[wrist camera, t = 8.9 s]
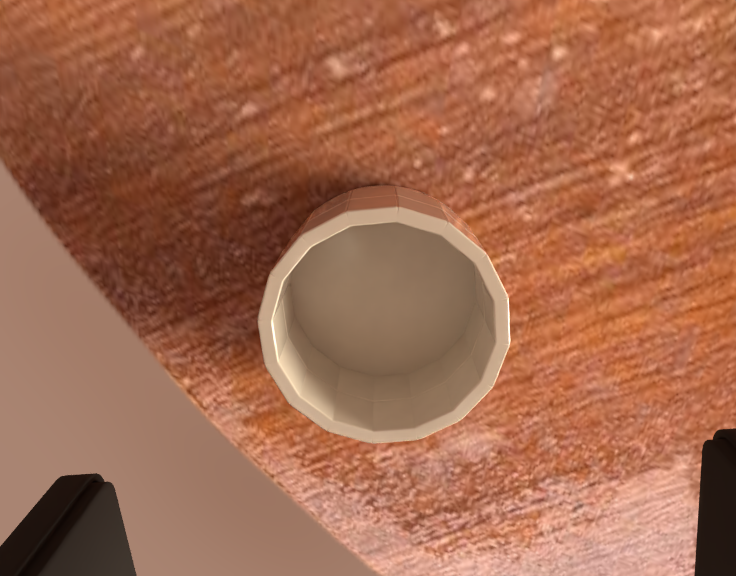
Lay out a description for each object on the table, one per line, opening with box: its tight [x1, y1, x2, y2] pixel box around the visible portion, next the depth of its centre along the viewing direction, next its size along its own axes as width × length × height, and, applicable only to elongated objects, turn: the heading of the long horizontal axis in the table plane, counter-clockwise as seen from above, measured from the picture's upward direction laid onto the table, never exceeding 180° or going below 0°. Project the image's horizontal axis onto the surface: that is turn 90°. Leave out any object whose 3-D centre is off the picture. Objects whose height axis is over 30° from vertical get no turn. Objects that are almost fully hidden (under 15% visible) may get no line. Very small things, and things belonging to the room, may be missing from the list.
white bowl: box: [257, 185, 510, 444], centre depth 21 cm, size 7×7×4 cm
